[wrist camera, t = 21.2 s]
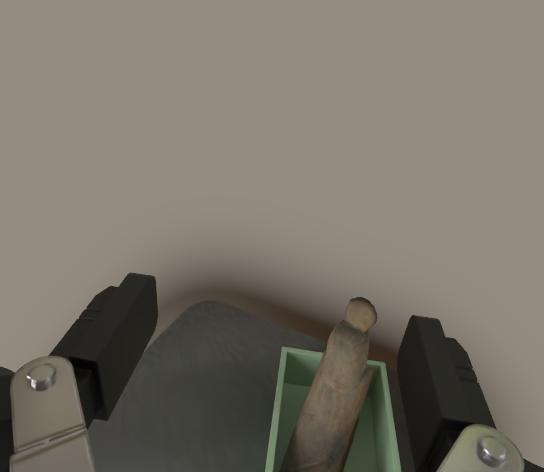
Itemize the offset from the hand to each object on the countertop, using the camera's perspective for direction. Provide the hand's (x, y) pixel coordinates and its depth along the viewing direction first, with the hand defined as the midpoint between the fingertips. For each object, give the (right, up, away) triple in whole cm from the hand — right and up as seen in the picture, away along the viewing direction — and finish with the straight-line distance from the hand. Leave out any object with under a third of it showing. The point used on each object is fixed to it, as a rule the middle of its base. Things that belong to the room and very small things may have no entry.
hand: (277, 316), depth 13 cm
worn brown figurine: (+5, -19, +28) cm, 34 cm away
